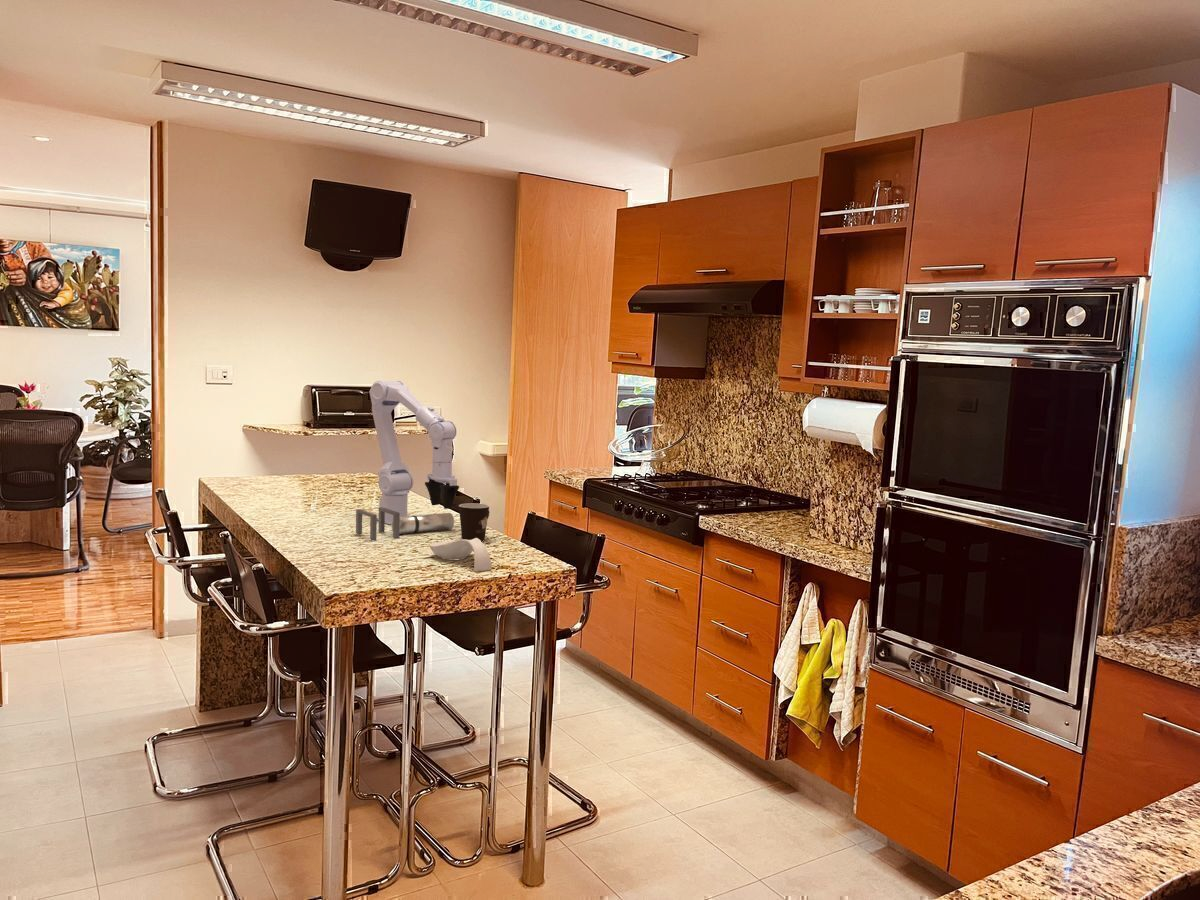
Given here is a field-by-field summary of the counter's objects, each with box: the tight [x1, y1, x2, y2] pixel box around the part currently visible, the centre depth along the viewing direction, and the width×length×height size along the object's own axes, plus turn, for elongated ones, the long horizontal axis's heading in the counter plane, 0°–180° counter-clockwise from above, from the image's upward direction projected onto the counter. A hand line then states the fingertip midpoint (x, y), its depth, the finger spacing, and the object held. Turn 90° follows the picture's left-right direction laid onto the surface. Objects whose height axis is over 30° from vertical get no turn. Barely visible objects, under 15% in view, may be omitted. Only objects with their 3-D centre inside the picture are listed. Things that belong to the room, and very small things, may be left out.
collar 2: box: [377, 506, 400, 539], centre depth 260 cm, size 11×1×7 cm, turn 39°
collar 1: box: [355, 508, 378, 541], centre depth 255 cm, size 11×1×7 cm, turn 39°
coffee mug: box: [458, 502, 490, 542], centre depth 258 cm, size 12×9×10 cm
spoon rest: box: [429, 538, 493, 573], centre depth 229 cm, size 24×12×7 cm, turn 35°
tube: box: [390, 512, 455, 535], centre depth 267 cm, size 18×5×5 cm, turn 129°
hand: (441, 506), depth 270 cm, fingers open, 7 cm apart
